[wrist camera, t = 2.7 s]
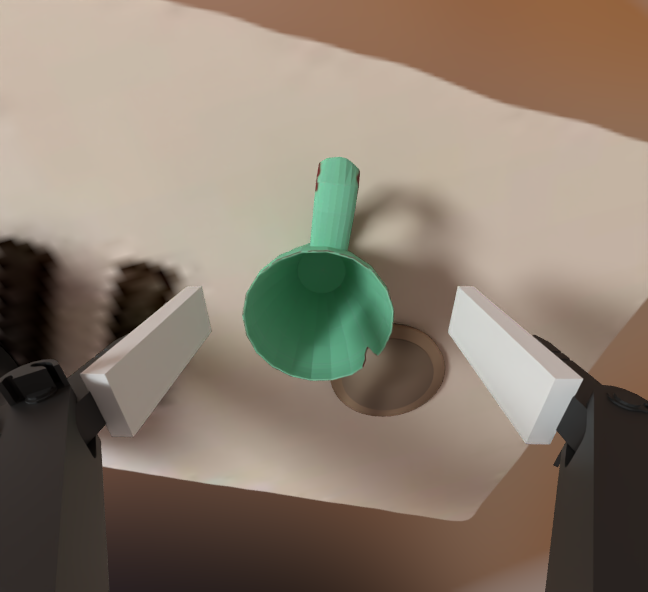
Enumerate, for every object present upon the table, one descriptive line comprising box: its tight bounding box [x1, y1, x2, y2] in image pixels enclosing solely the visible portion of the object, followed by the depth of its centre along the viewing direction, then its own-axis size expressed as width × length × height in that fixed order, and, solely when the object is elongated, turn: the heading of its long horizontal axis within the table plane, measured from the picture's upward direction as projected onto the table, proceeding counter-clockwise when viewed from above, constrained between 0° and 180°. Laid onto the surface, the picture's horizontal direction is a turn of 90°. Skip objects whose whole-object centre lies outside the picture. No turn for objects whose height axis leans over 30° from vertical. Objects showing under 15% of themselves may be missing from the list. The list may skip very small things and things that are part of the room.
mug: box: [242, 157, 394, 381], centre depth 21 cm, size 15×10×10 cm
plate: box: [331, 324, 445, 417], centre depth 31 cm, size 13×13×1 cm
